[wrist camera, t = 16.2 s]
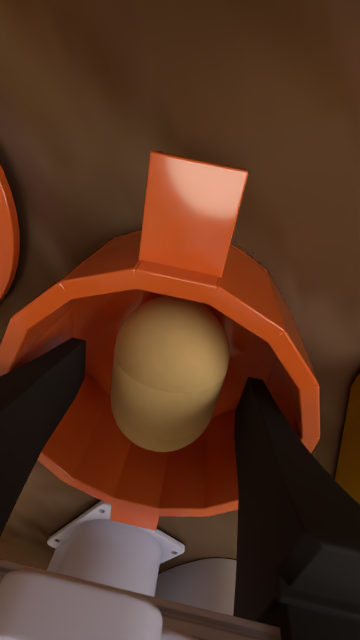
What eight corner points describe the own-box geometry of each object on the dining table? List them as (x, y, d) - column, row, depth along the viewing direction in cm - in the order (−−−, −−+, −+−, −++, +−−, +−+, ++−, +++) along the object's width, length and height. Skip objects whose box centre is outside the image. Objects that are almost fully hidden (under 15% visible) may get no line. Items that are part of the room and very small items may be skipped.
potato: (202, 402, 17) (205, 482, 13) (118, 390, 17) (95, 467, 13) (235, 287, 14) (253, 349, 10) (130, 269, 13) (104, 324, 9)
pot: (66, 428, 20) (17, 514, 15) (61, 126, 12) (-51, 112, 7) (238, 467, 19) (242, 569, 15) (360, 186, 11) (455, 214, 7)
